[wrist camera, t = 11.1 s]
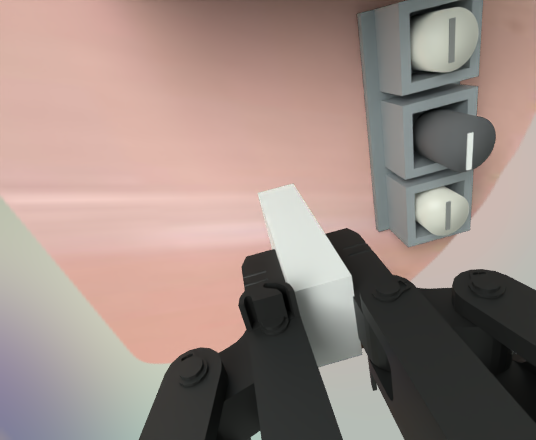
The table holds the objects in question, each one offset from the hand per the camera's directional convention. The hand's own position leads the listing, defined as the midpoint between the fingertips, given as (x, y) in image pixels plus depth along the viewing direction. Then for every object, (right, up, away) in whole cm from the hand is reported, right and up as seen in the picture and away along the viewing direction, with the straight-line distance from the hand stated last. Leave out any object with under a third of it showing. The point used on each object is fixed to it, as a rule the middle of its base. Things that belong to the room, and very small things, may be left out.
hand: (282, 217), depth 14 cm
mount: (+17, +11, +27) cm, 34 cm away
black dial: (+17, +9, +23) cm, 30 cm away
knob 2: (+19, +3, +30) cm, 35 cm away
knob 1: (+15, +19, +22) cm, 32 cm away
